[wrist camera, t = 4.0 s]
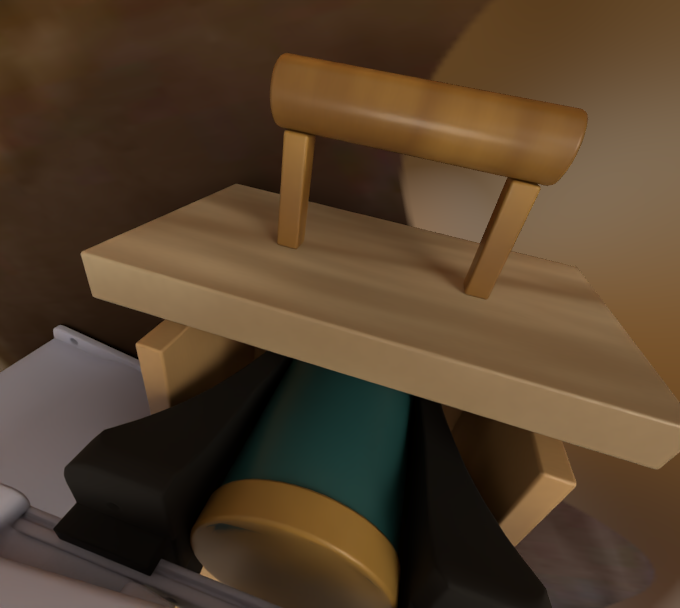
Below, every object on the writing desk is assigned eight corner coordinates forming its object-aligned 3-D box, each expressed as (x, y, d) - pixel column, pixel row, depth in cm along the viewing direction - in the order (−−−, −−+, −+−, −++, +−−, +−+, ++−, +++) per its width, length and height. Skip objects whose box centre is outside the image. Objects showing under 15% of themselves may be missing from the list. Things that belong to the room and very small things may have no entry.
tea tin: (297, 382, 16) (195, 583, 10) (308, 293, 13) (177, 488, 7) (401, 415, 16) (369, 654, 9) (436, 329, 13) (427, 581, 6)
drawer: (234, 45, 11) (3, -6, 5) (662, 127, 9) (1009, 183, 4) (237, 413, 20) (159, 534, 15) (445, 483, 19) (446, 647, 13)
